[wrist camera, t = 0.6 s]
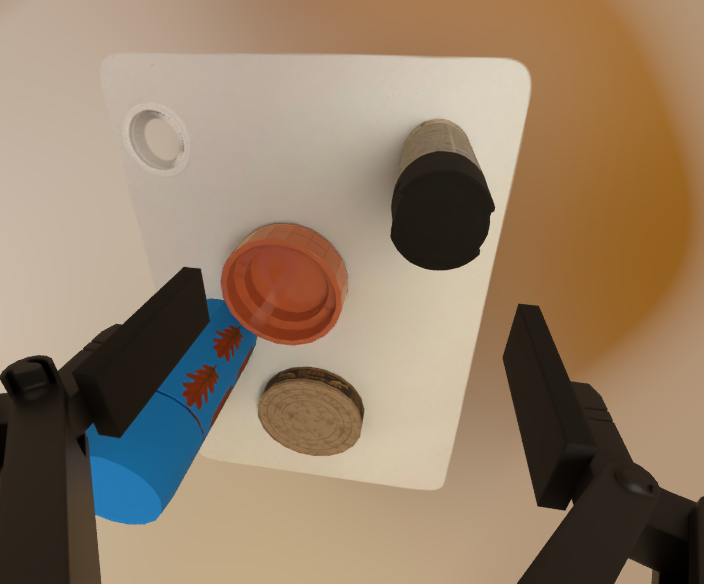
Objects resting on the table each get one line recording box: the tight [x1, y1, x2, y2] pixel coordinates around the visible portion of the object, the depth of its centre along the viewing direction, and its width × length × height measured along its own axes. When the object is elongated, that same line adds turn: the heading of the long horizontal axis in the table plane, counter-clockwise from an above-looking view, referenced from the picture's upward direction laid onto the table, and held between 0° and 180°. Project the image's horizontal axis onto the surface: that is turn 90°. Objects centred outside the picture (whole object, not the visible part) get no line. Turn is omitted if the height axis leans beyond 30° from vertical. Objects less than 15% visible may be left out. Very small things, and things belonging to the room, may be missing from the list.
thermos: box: [86, 299, 257, 524], centre depth 48 cm, size 11×11×25 cm
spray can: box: [390, 119, 495, 270], centre depth 34 cm, size 7×7×20 cm
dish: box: [221, 223, 348, 345], centre depth 50 cm, size 14×14×5 cm
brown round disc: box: [258, 367, 364, 456], centre depth 63 cm, size 16×16×3 cm
